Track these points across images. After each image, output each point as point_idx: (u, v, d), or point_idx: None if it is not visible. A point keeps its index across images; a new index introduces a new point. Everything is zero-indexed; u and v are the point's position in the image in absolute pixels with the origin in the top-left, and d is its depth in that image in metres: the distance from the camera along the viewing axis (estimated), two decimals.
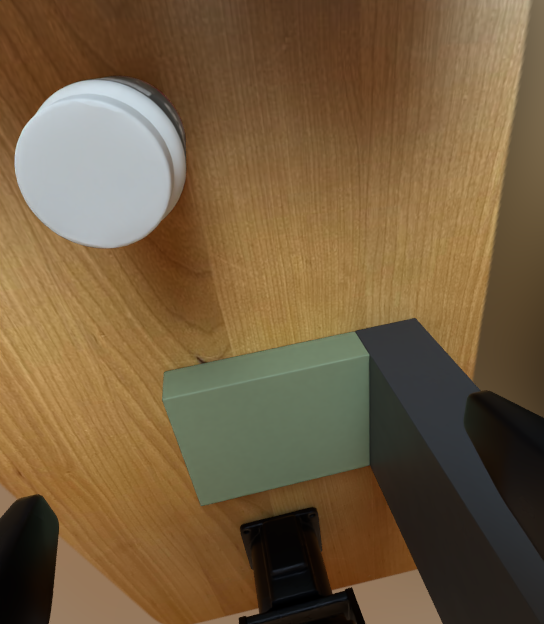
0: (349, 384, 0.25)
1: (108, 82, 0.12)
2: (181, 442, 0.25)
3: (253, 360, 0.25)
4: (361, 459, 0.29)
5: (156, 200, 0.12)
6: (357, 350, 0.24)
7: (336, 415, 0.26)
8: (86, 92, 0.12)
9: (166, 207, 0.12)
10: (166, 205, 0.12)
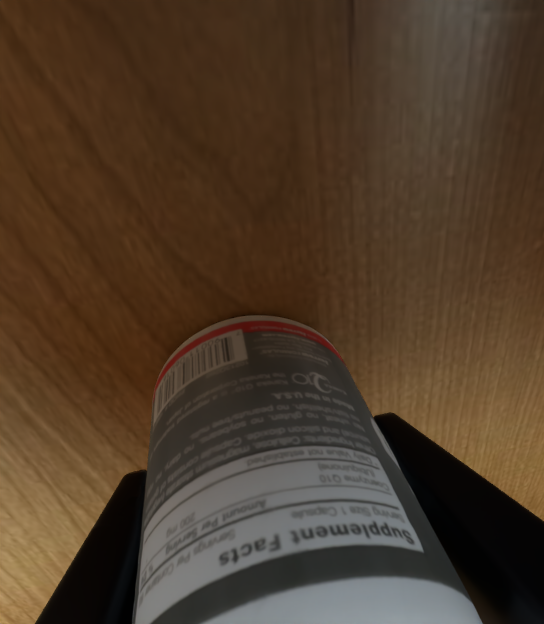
0: None
1: (365, 609, 0.04)
2: None
3: None
4: None
5: None
6: None
7: None
8: None
9: None
10: None
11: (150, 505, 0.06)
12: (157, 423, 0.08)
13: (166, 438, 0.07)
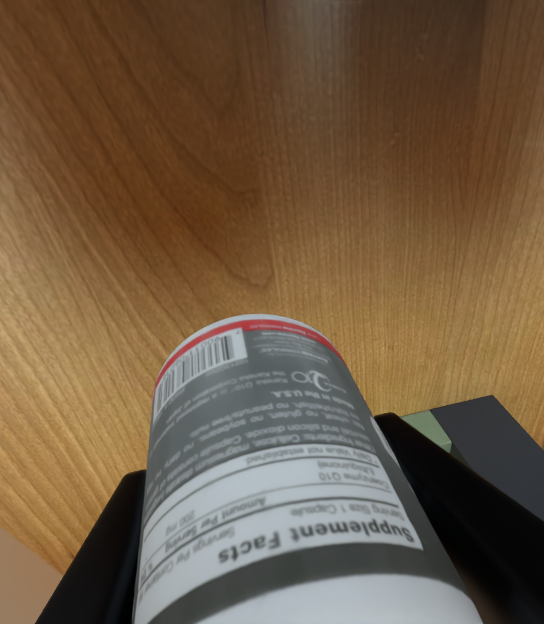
0: None
1: (365, 606, 0.04)
2: None
3: None
4: None
5: None
6: (437, 436, 0.23)
7: None
8: None
9: None
10: None
11: (149, 503, 0.06)
12: (157, 421, 0.08)
13: (166, 437, 0.07)
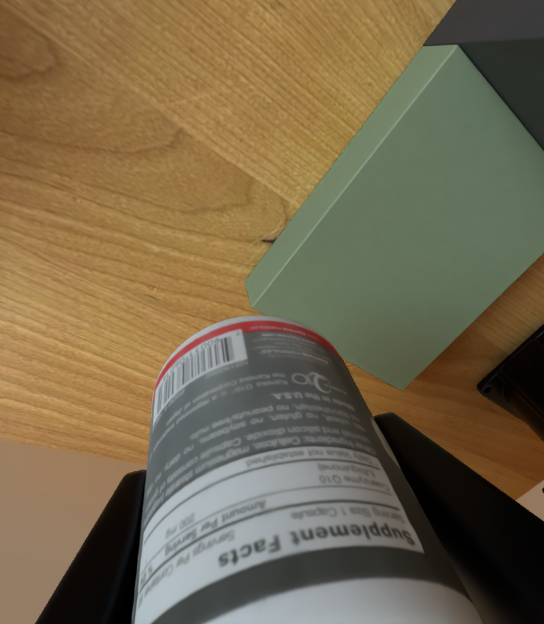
0: (463, 114, 0.15)
1: (366, 611, 0.04)
2: None
3: (319, 192, 0.18)
4: None
5: None
6: (437, 58, 0.15)
7: (481, 173, 0.17)
8: None
9: None
10: None
11: (149, 505, 0.06)
12: (157, 423, 0.08)
13: (166, 440, 0.07)
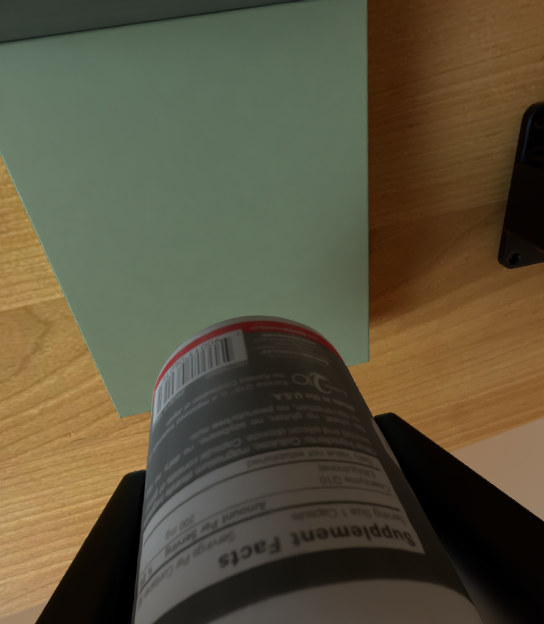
0: (60, 98, 0.10)
1: (366, 612, 0.04)
2: None
3: None
4: (335, 25, 0.11)
5: None
6: None
7: (164, 122, 0.11)
8: None
9: None
10: None
11: (149, 506, 0.06)
12: (156, 424, 0.08)
13: (166, 440, 0.07)
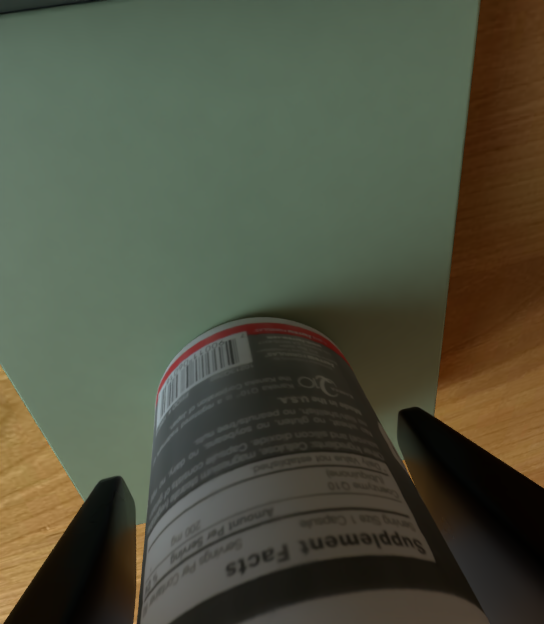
0: None
1: (378, 623, 0.04)
2: None
3: None
4: (430, 3, 0.07)
5: None
6: None
7: (161, 154, 0.07)
8: None
9: None
10: None
11: (154, 511, 0.06)
12: (160, 427, 0.08)
13: (170, 443, 0.07)
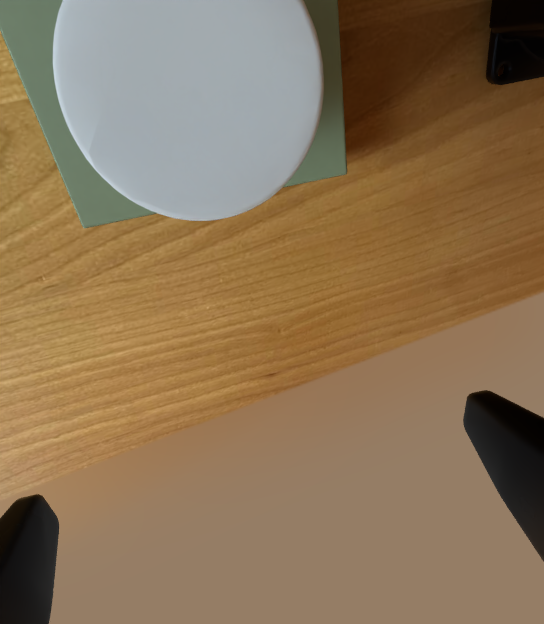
0: None
1: None
2: None
3: None
4: None
5: (295, 132, 0.07)
6: None
7: None
8: None
9: (309, 146, 0.07)
10: (309, 142, 0.07)
11: None
12: None
13: None
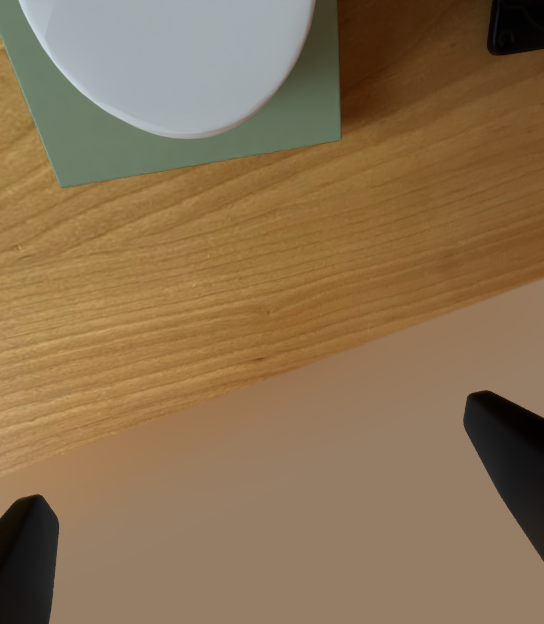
0: None
1: None
2: (162, 163, 0.14)
3: None
4: None
5: (285, 29, 0.06)
6: None
7: None
8: None
9: (300, 48, 0.06)
10: (301, 44, 0.06)
11: None
12: None
13: None
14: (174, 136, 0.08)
